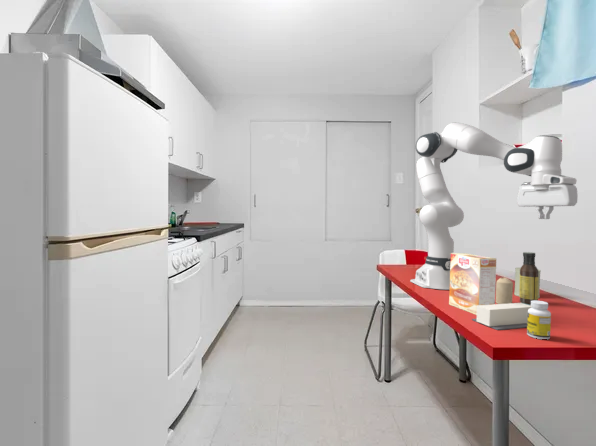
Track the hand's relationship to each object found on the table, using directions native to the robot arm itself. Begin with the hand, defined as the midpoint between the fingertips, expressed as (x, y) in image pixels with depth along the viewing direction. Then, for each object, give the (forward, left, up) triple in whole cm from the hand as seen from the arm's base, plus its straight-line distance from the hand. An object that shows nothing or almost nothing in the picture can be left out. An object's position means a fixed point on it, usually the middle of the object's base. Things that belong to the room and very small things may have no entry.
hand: (543, 219), depth 126 cm
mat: (+10, -27, -33) cm, 44 cm away
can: (-19, +16, -33) cm, 42 cm away
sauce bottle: (-9, +5, -33) cm, 35 cm away
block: (+10, -18, -30) cm, 36 cm away
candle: (-10, -6, -33) cm, 35 cm away
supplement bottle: (+22, -28, -33) cm, 49 cm away
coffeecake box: (-6, -26, -33) cm, 42 cm away
